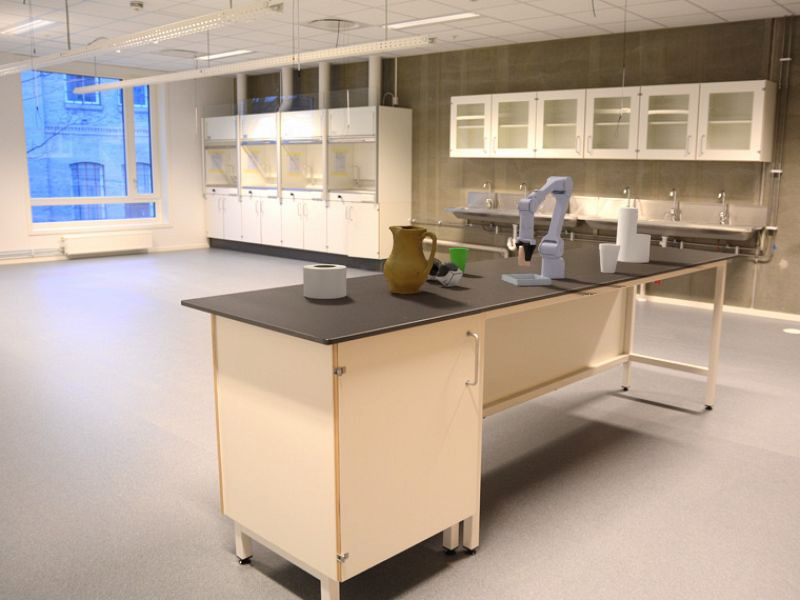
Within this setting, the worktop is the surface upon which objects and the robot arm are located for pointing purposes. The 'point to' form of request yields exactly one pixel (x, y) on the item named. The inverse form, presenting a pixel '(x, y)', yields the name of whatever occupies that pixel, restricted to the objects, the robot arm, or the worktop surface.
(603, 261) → the foam cup
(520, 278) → the tray
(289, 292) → the worktop surface
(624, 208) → the white l-shaped piece
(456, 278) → the black white sneaker
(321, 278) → the white toilet paper roll
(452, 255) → the cup
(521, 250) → the tumbler
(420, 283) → the pitcher
